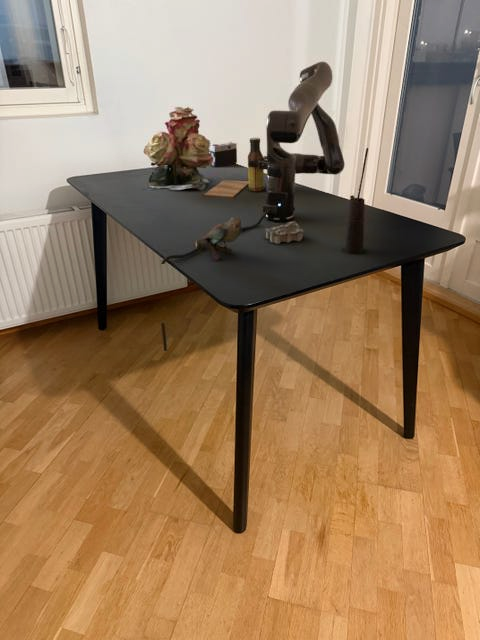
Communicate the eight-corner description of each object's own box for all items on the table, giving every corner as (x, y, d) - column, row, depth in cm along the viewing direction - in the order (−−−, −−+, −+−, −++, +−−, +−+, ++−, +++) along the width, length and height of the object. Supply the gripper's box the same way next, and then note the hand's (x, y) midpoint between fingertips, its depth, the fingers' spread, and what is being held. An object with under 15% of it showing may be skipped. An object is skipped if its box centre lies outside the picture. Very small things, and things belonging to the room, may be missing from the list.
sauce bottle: (264, 188, 191) (265, 137, 181) (263, 192, 186) (264, 139, 176) (248, 188, 191) (248, 137, 181) (247, 192, 186) (247, 139, 176)
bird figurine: (179, 245, 133) (197, 193, 117) (208, 239, 138) (228, 188, 123) (202, 281, 129) (223, 232, 113) (230, 273, 134) (254, 224, 118)
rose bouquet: (141, 190, 190) (132, 110, 175) (172, 174, 214) (167, 102, 199) (198, 195, 183) (194, 112, 168) (224, 178, 207) (223, 104, 191)
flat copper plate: (233, 197, 179) (233, 196, 179) (204, 195, 182) (204, 194, 182) (250, 182, 199) (250, 181, 199) (223, 181, 202) (223, 179, 202)
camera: (227, 160, 239) (226, 140, 234) (237, 163, 233) (237, 142, 228) (205, 164, 231) (204, 143, 226) (215, 167, 226) (214, 145, 221)
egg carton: (296, 233, 144) (297, 220, 142) (305, 241, 138) (306, 228, 136) (263, 236, 142) (263, 223, 140) (271, 244, 135) (272, 231, 133)
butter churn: (330, 243, 136) (340, 143, 122) (362, 242, 136) (375, 142, 122) (338, 255, 128) (349, 149, 114) (372, 254, 129) (387, 148, 114)
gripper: (289, 177, 176) (246, 175, 179) (293, 169, 188) (253, 167, 191) (290, 157, 172) (246, 155, 175) (294, 150, 185) (253, 148, 188)
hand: (250, 161), depth 183 cm, fingers closed on sauce bottle, 6 cm apart
